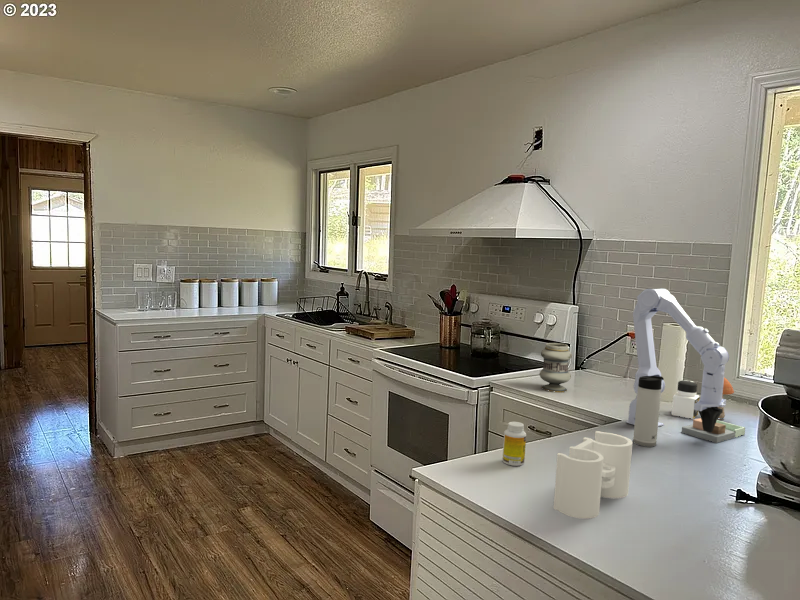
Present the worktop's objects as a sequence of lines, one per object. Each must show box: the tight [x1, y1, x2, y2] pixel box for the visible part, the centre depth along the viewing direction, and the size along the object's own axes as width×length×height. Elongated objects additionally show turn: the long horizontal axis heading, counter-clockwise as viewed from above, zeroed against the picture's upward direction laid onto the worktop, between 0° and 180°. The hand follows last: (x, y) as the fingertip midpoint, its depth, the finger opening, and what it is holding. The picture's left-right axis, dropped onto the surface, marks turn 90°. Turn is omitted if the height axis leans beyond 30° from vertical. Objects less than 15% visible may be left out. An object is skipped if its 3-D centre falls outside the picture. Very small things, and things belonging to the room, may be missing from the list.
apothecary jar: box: [539, 342, 573, 393], centre depth 239 cm, size 12×12×18 cm
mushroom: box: [718, 376, 735, 418], centre depth 207 cm, size 8×8×15 cm
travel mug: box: [632, 375, 665, 448], centre depth 176 cm, size 6×7×20 cm
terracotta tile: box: [692, 417, 703, 430], centre depth 189 cm, size 4×4×2 cm
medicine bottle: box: [671, 379, 701, 420], centre depth 210 cm, size 7×7×12 cm
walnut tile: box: [711, 423, 726, 434], centre depth 186 cm, size 4×4×2 cm
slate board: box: [681, 423, 736, 444], centre depth 188 cm, size 11×11×2 cm
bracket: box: [553, 430, 634, 520], centre depth 135 cm, size 25×10×12 cm, turn 140°
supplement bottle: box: [501, 421, 527, 467], centre depth 155 cm, size 6×6×10 cm
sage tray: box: [716, 419, 746, 438], centre depth 193 cm, size 6×11×2 cm, turn 35°
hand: (707, 431), depth 183 cm, fingers closed
